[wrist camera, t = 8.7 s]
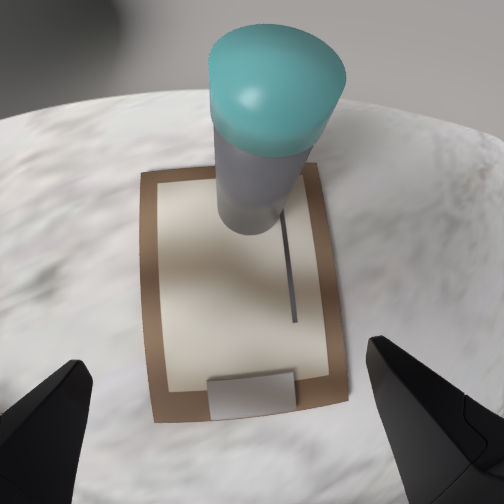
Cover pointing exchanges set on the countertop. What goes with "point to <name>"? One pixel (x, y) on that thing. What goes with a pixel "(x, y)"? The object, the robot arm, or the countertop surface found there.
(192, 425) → the countertop surface
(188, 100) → the countertop surface
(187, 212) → the clipboard
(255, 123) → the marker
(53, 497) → the robot arm
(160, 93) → the countertop surface
